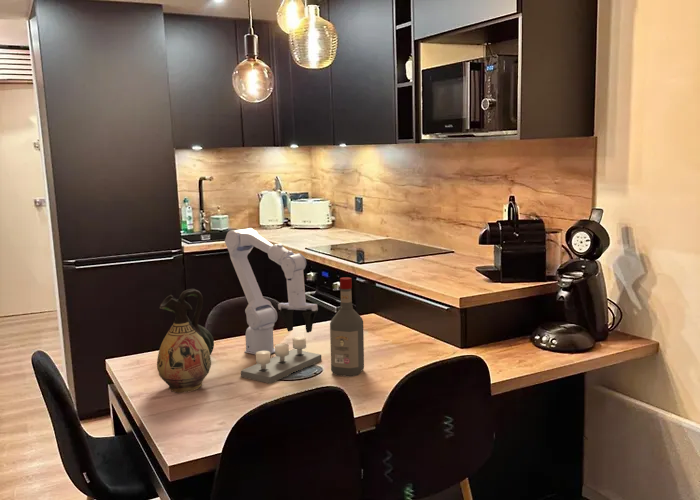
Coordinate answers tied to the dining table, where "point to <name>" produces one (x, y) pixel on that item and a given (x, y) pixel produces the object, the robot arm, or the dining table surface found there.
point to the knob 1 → (263, 358)
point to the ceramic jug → (183, 346)
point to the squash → (207, 338)
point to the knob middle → (282, 351)
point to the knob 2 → (299, 344)
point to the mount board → (281, 366)
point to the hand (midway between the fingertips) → (299, 331)
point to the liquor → (347, 336)
